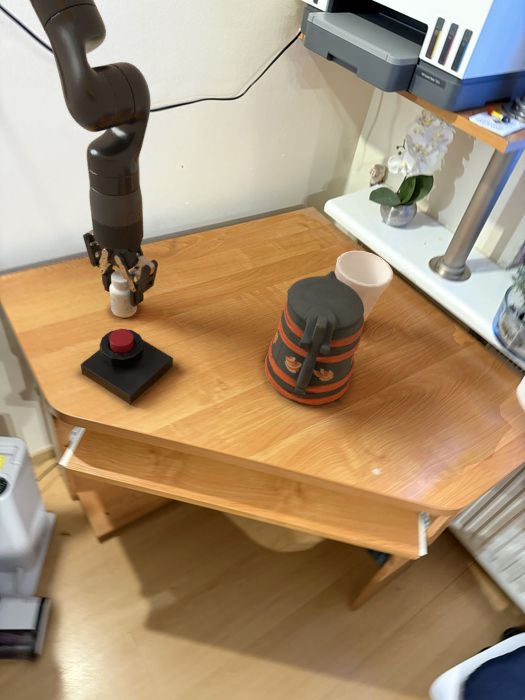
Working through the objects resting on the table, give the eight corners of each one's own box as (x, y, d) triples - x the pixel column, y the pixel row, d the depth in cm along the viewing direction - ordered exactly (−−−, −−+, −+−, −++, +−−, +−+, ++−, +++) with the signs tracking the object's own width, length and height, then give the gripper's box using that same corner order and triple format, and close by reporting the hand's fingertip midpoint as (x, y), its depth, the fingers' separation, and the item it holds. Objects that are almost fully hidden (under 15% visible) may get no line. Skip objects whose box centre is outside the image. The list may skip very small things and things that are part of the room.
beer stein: (344, 438, 79) (384, 350, 65) (251, 417, 80) (270, 324, 65) (351, 352, 92) (386, 262, 78) (271, 334, 93) (291, 241, 78)
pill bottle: (139, 303, 93) (138, 269, 88) (133, 320, 90) (131, 286, 85) (115, 299, 93) (112, 265, 88) (108, 316, 90) (104, 281, 85)
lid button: (105, 346, 80) (104, 338, 79) (121, 333, 83) (120, 326, 82) (122, 357, 79) (122, 349, 78) (138, 344, 82) (138, 336, 81)
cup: (368, 308, 102) (389, 253, 92) (374, 344, 95) (397, 289, 85) (318, 301, 101) (334, 246, 91) (321, 338, 94) (338, 282, 84)
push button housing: (80, 372, 81) (77, 355, 78) (125, 337, 87) (123, 320, 84) (130, 405, 78) (129, 388, 75) (173, 366, 84) (173, 350, 81)
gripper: (170, 219, 78) (169, 303, 90) (99, 183, 82) (107, 268, 94) (136, 240, 73) (140, 326, 85) (62, 201, 77) (76, 289, 89)
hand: (123, 295), depth 89 cm, fingers open, 5 cm apart
